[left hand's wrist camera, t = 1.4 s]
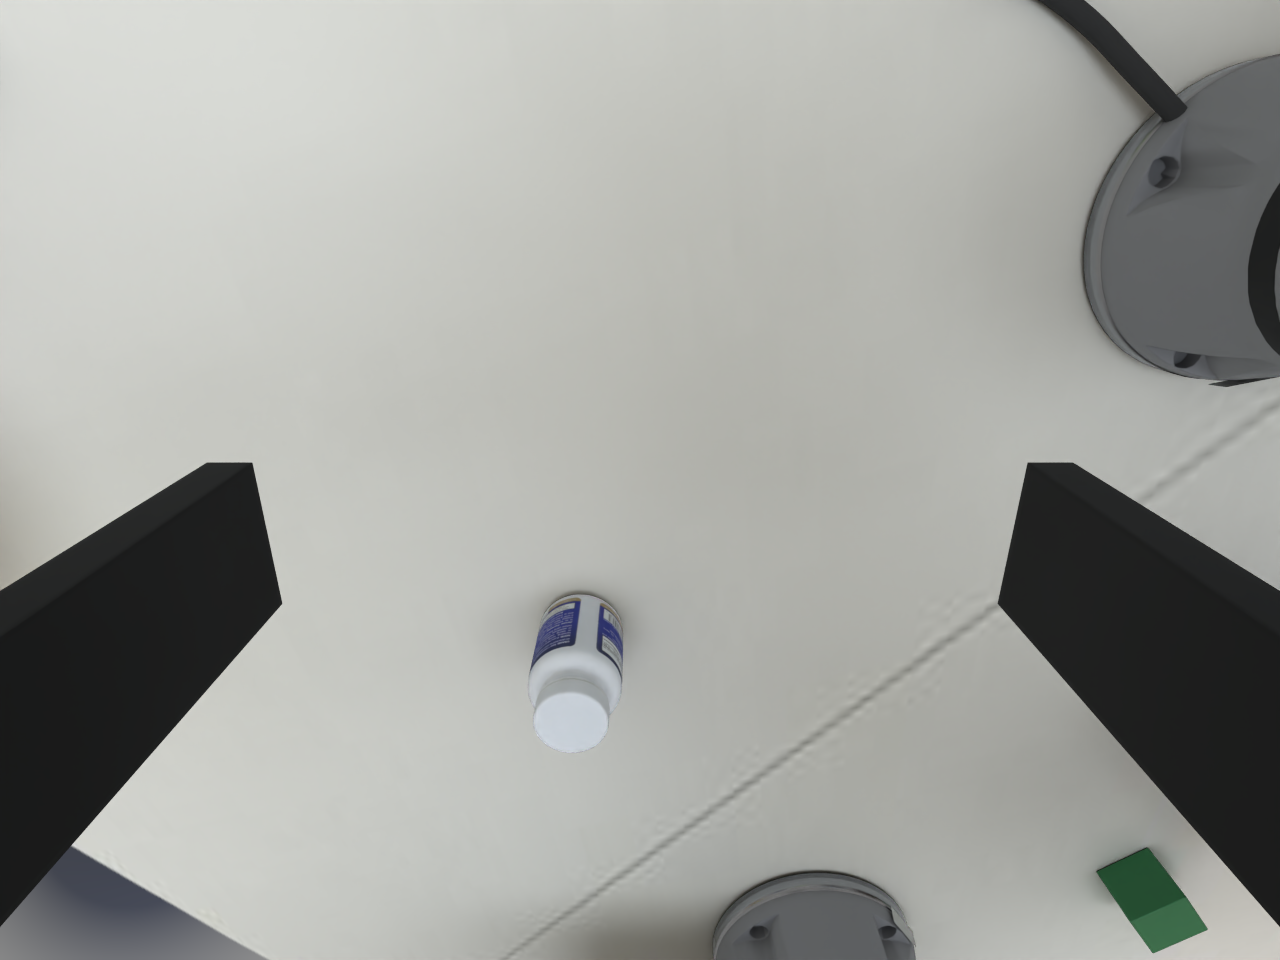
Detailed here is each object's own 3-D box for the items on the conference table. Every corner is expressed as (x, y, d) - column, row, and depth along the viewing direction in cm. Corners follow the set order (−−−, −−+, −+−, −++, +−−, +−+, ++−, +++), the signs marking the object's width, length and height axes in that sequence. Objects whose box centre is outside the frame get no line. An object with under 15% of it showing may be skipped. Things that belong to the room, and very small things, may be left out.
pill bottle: (535, 654, 47) (512, 754, 38) (547, 585, 45) (526, 674, 36) (615, 668, 47) (610, 770, 39) (631, 600, 45) (629, 691, 37)
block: (1169, 878, 54) (1208, 929, 50) (1118, 901, 55) (1153, 953, 51) (1147, 847, 53) (1186, 897, 49) (1095, 871, 54) (1130, 922, 50)
